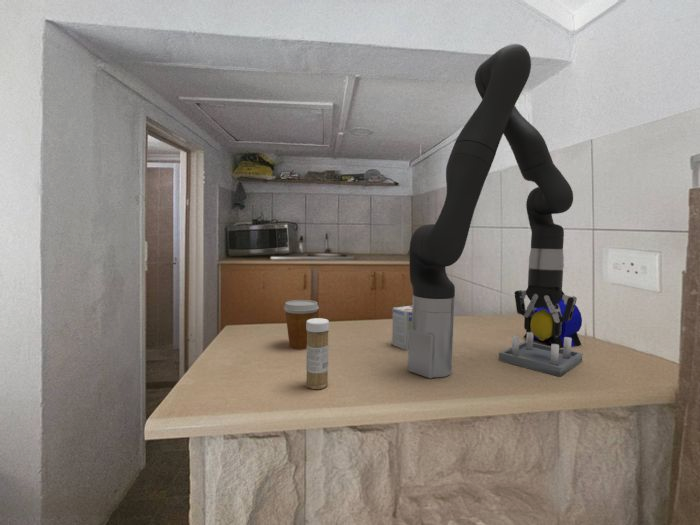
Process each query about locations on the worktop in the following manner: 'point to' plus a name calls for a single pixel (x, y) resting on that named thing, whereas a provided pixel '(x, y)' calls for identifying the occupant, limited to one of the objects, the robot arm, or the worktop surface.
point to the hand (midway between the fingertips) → (542, 334)
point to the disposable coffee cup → (299, 321)
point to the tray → (541, 356)
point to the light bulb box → (401, 326)
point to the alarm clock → (566, 327)
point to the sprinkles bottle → (317, 353)
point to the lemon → (542, 324)
